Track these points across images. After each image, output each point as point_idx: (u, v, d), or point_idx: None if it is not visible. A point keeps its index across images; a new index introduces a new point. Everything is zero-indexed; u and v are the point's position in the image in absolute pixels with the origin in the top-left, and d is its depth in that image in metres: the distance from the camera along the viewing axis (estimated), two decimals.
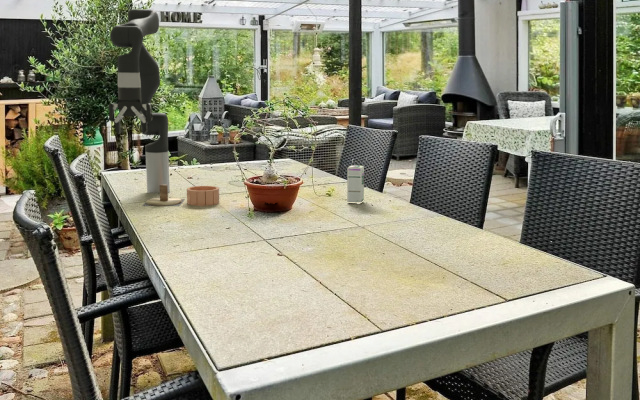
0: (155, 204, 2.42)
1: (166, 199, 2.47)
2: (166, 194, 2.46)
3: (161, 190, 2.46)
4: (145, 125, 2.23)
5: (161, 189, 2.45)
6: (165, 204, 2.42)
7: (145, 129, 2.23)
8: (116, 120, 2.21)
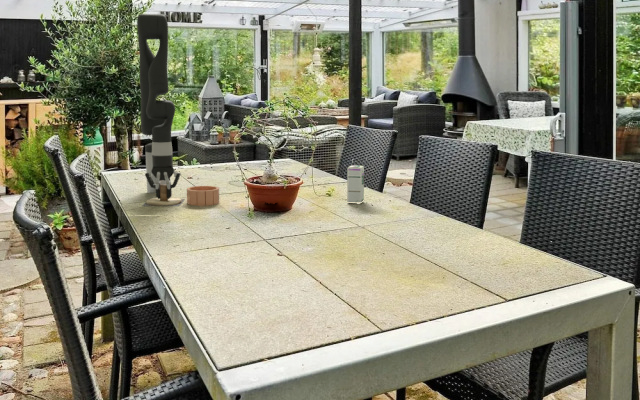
0: (155, 204, 2.42)
1: (166, 199, 2.47)
2: (166, 194, 2.46)
3: (161, 190, 2.46)
4: (170, 191, 2.46)
5: (161, 189, 2.45)
6: (165, 204, 2.42)
7: (170, 194, 2.47)
8: (157, 187, 2.45)
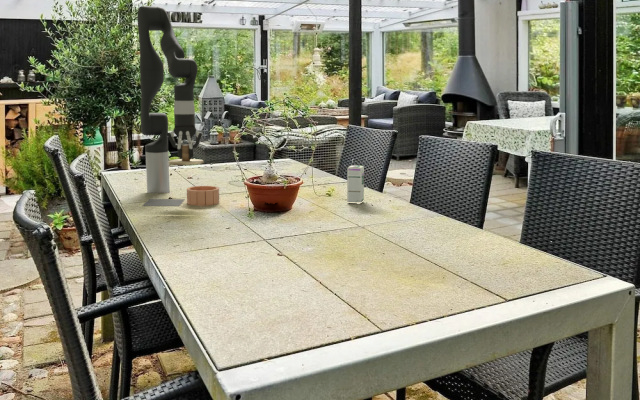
0: (177, 163, 2.39)
1: (188, 159, 2.44)
2: (188, 154, 2.43)
3: (183, 150, 2.43)
4: (192, 151, 2.43)
5: (183, 149, 2.42)
6: (187, 163, 2.39)
7: (192, 155, 2.44)
8: (179, 146, 2.42)
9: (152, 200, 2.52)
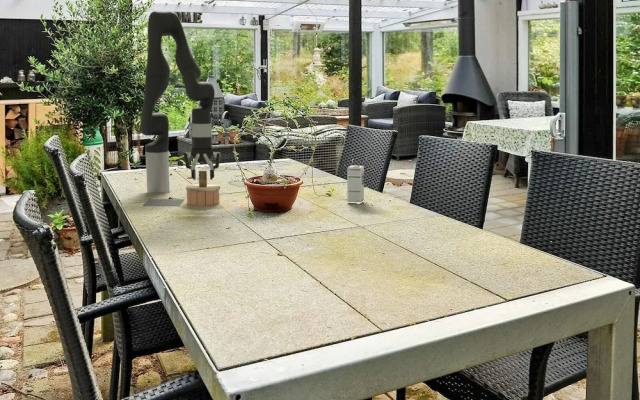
0: (195, 190, 2.41)
1: (205, 185, 2.46)
2: (205, 180, 2.46)
3: (200, 176, 2.45)
4: (212, 172, 2.46)
5: (200, 175, 2.45)
6: (205, 190, 2.41)
7: (212, 175, 2.46)
8: (192, 167, 2.45)
9: (152, 200, 2.52)
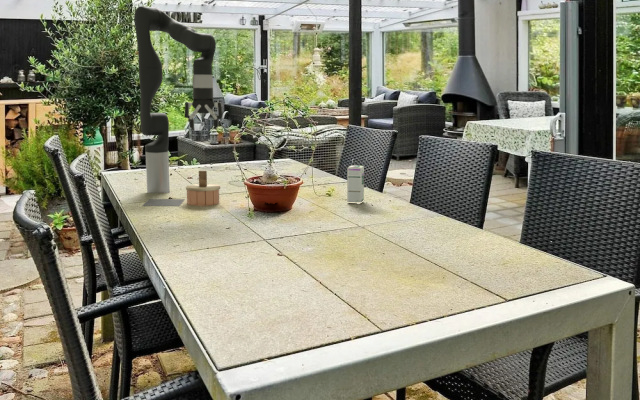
0: (195, 190, 2.41)
1: (205, 185, 2.46)
2: (205, 180, 2.46)
3: (200, 176, 2.45)
4: (216, 121, 2.49)
5: (200, 175, 2.45)
6: (205, 190, 2.41)
7: (216, 125, 2.50)
8: (191, 117, 2.48)
9: (152, 200, 2.52)
